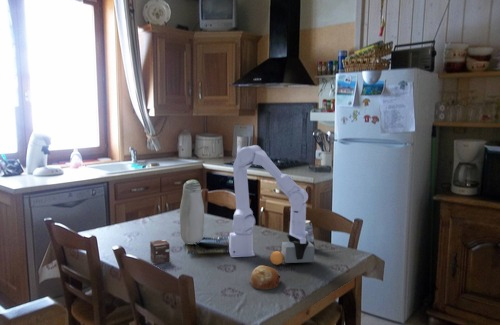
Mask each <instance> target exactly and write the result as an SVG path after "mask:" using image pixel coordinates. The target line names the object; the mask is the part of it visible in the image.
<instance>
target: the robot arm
mask: <svg viewBox="0 0 500 325" xmlns="http://www.w3.org/2000/svg"><path fill="white" fill-rule="evenodd" d="M252 165H255V166H256V165H257V166H262V168H263V169H264V170H266V171H267V173H268V174H269V175H271V177H273V179H274V180H275V183H276V186H277V187H278V188H279V189H280V190H281V191H282V192H283V194H284V195H285V196H286V197H287V198H288V202H289V204H290V218H289V219H290V223H289V224H290V226H289V233H287V234H286V236H287V239H288V242H293V243H294V246H295V250H296V258H297V260H299V259H303V256H304V252H305V249H306V247H307V246H308V244H309V242H308V241H306V238H305V236H306V235H308V232H307V231H305V224H306V220H307V219H306V218H307V216H306V215H307V201H308V200H309V194H308V192H307V191H306V189H305V188H302V187H301V185H298V184H297V183H296V182H295V181H294V180H293V176H292V175H289V174H285V173H283V172H282V171H281V170H280V168H278V167H277V165H276V164H275V163H274V161H272V159H271V158H270V157H269V155H267V153H266V151H265V150H263V149H262V148H261V146H259V145H257V144H253V145H249V146H243V147H241V148H240V149H239V150H238V151H237V152H236V156H235V160H234V162H233V165H232V169H233V173H232V174H233V182H234V183H233V184H234V197H235V208H236V209H235V211H234V214H233V216H232V217H233V221H232V224H231V228H232V231H233V232H229V238H228V244H229V245H228V251H229V255H230V257H231V258H241V257H242V258H243V257H244V258H246V257H255V256H256V255H255V254H256V253H254V252H255V251H254V250H253V243H254V242H253V241H254V240H253V238H254V237H253V236H254V235H253V228H254V227H255V225H256V218H255V216H254V215H253V214H254V212H253V210H252V208H250V193H249V181H248V169H249V168H250V167H251V166H252Z"/></svg>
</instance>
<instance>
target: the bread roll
mask: <svg viewBox="0 0 500 325" xmlns="http://www.w3.org/2000/svg"><path fill="white" fill-rule="evenodd" d="M280 282H281V275H280V274H279V271H278V270H276V269H275V268H273V267H271V266H266V265H263V264H262V265H257V267H255V268H254V269H253V271H251V276H250V280H249V283H250V285H251V286H252V288H254V289H255V290H256V289H257V290H262V291H263V290H264V291H265V290H271V289H275V288H277V287H278V286H279V285H280Z"/></svg>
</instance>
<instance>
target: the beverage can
mask: <svg viewBox="0 0 500 325" xmlns="http://www.w3.org/2000/svg"><path fill="white" fill-rule="evenodd" d="M305 231H307V232H308V235H306V236H305V238H306V241H309V242H310V243H311V244H312V245H313V246H314V247H315V237H314V229H313V223H312V222H311V220H308V219H306V224H305Z"/></svg>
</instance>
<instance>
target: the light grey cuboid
mask: <svg viewBox="0 0 500 325" xmlns="http://www.w3.org/2000/svg"><path fill="white" fill-rule="evenodd" d="M308 242H309V241H308ZM281 253H282V254H283V262H285V264H291V263H295V264H296V263H297V264H298V263H315V262H314V260H315V246H313V245H312V244H311V243H310V242H309V244H308V246H307V247H306V249H305V252H304V256H303V259H299V260H297V258H296V250H295V246H294V243H293V242H289V241H281Z"/></svg>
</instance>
